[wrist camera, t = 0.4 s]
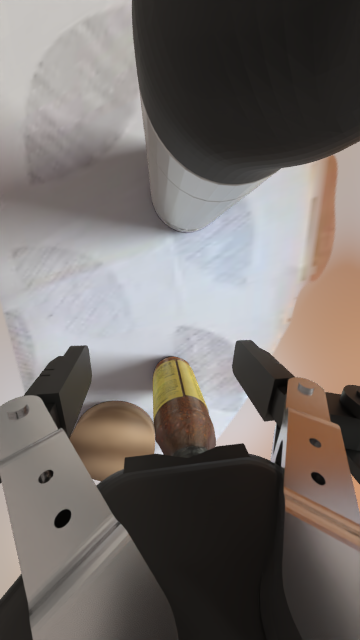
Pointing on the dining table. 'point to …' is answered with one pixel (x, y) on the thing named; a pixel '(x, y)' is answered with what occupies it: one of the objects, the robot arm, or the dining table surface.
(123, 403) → the tan flat disc
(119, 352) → the dining table surface
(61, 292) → the dining table surface
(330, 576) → the robot arm
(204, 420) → the sauce bottle
